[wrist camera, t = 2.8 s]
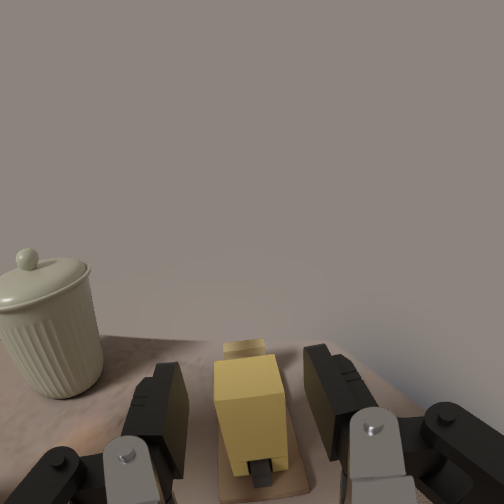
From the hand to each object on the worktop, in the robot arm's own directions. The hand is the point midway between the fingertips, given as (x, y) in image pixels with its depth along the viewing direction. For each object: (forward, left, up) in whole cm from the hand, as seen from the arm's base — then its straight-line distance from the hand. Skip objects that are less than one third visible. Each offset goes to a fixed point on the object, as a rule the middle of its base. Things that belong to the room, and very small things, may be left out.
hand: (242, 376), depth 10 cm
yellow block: (0, +10, -19) cm, 21 cm away
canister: (-28, +26, -20) cm, 43 cm away
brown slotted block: (0, +15, -20) cm, 25 cm away
